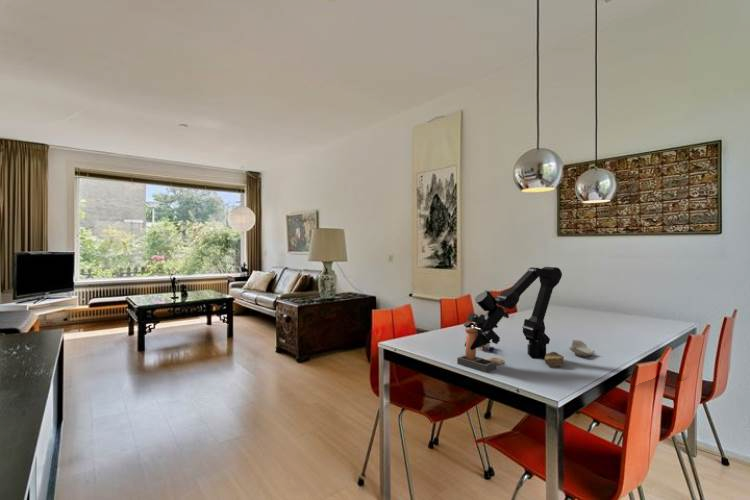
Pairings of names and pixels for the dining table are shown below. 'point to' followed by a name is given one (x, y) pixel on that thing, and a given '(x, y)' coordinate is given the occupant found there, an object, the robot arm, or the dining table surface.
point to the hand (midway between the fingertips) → (468, 347)
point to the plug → (470, 343)
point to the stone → (554, 359)
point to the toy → (487, 347)
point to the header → (477, 363)
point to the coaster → (496, 360)
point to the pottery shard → (580, 348)
